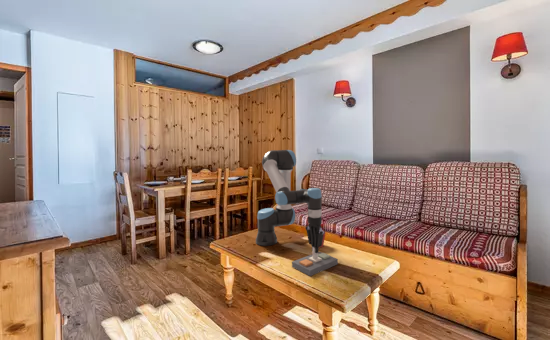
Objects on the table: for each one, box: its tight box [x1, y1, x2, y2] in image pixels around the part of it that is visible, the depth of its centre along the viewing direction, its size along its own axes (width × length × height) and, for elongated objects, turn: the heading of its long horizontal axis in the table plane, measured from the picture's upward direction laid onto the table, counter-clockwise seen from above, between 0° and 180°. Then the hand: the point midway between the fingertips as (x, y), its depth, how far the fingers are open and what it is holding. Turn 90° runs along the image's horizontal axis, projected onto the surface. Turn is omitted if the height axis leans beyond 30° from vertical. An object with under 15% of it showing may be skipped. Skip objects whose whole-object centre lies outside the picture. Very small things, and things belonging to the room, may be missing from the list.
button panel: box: [291, 251, 339, 277], centre depth 147 cm, size 14×22×3 cm, turn 128°
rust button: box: [299, 259, 313, 267], centre depth 142 cm, size 5×5×3 cm
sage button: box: [318, 252, 331, 259], centre depth 151 cm, size 5×5×3 cm
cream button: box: [308, 256, 322, 263], centre depth 147 cm, size 5×5×3 cm
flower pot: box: [319, 232, 326, 249], centre depth 176 cm, size 11×11×10 cm
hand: (315, 257), depth 146 cm, fingers closed
